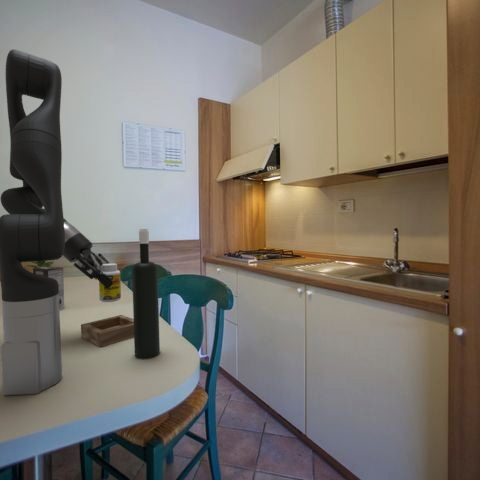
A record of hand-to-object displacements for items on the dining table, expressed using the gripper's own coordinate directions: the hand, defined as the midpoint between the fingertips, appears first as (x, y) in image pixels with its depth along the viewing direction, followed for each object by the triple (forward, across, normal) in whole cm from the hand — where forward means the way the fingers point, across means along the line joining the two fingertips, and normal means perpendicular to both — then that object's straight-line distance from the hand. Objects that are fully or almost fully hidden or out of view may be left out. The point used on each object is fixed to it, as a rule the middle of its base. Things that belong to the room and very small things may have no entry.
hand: (114, 283), depth 87 cm
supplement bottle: (+3, 0, +4) cm, 5 cm away
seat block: (+10, 0, +11) cm, 15 cm away
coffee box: (-14, +32, +36) cm, 50 cm away
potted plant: (-30, +69, +52) cm, 91 cm away
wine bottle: (+19, -14, +2) cm, 24 cm away
